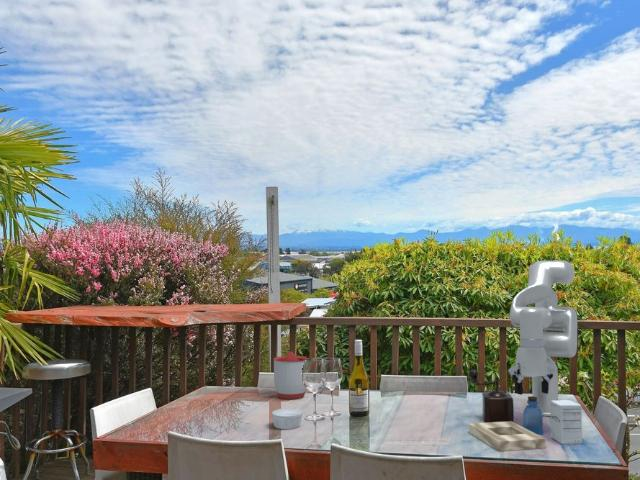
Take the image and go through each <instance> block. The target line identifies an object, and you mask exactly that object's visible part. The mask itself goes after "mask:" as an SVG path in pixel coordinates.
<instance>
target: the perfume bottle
mask: <svg viewBox="0 0 640 480" xmlns="http://www.w3.org/2000/svg"><path fill="white" fill-rule="evenodd" d="M527 404H528V405H527ZM527 404H526V405H525V408H524V410H523V414H522V415H523V427H524V428H526V429H527V430H529V431H531V432H533V433H535V434H537V435H539V436H543V435H544V432H543V431H544V429H543V428H544V427H543V424H544V423H543V416H542V411H541V409H540V408H539V406H537V404H538V401H537V397H533V396H532V395H530V396H527Z"/></svg>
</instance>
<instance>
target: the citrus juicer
mask: <svg viewBox="0 0 640 480" xmlns="http://www.w3.org/2000/svg"><path fill="white" fill-rule="evenodd" d="M305 360H307V361H308V357H307V356H302V355H295V353H294V352H293V351H289V352H288V353H287V354H286V355H283V356H281V355H280V356H276V357H273V381H274V388H275V393H276V394H277V397H278V398H280V399H281V400H286V399H289V400H290V399H294V400H296V399H297V400H300V399H301V398H304V397H305V394H306V392H307V388H305V386H304V385H303V383H302V377H301V373H302V368H303V365H304V362H305Z"/></svg>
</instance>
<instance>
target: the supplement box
mask: <svg viewBox="0 0 640 480" xmlns="http://www.w3.org/2000/svg"><path fill="white" fill-rule="evenodd" d="M582 416H583V415H582V405H581V404H580V403H577V402H575V401H573V400H569V399H561V400H559V399H558V400H553V401H551V416H550V434H551V435H550V438H551V439H553V440H554V441H556V442H558V443H560V445H578V444H579V445H580V444H583V431H582V430H583V429H582V426H583V420H582Z"/></svg>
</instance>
